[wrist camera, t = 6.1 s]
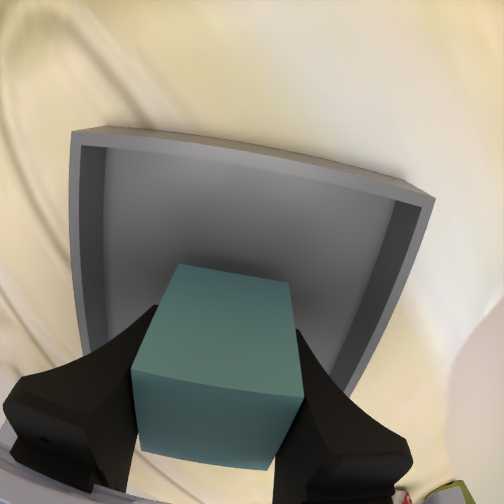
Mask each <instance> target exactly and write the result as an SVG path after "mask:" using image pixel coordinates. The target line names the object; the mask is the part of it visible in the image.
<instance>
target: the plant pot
mask: <svg viewBox="0 0 504 504" xmlns="http://www.w3.org/2000/svg"><path fill="white" fill-rule="evenodd" d="M457 486H459V487H460V488H461V491H462V494H463V496H464V499H465V502H466V504H476V503H475V501H474V499H473V498H472V496H471V494H470V492H469V490H468V489H467V487H466V485H465V483H464V482H463V481H462V480H458V481H454V482H453V483H452V484H450V485H444V486H441V487H439V488H438V489H436V490H435V491H433V492H431V493H430V494H429V495H428V496H427V498H428V497H429V496H431V495H432V494H434V493H436V492H439V491H442V490H446V489H450V488H454V487H457ZM427 498H426V499H427ZM426 499H425V500H426Z"/></svg>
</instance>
